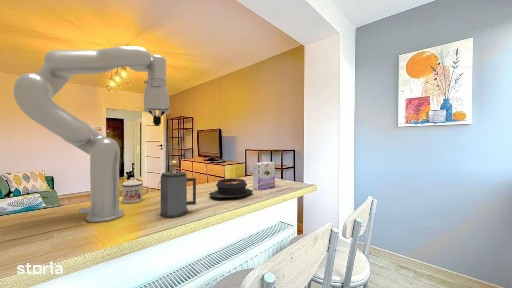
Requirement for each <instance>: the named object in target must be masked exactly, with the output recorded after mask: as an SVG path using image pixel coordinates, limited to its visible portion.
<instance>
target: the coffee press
mask: <svg viewBox="0 0 512 288" xmlns="http://www.w3.org/2000/svg"><path fill="white" fill-rule="evenodd" d="M160 181H161V183H160V212H159V213H160V214H159V216H160V217H162V218H164V219H175V218H180V217H183V216H185V215H188V213H189V211H188V206H192V205H193V206H195V205H196V204H197V178H196V177H188V174H187V172H186V171H180V170H179V171H176V173H175V174H173V171H165V172H162V173H161V176H160ZM188 182H192V200H189V201H188V197H187V195H188V194H187V193H188V191H187V190H188V189H187V188H188V185H187V184H188Z"/></svg>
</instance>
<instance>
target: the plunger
mask: <svg viewBox="0 0 512 288" xmlns="http://www.w3.org/2000/svg"><path fill="white" fill-rule="evenodd" d="M179 166H180V161H179V160H169V167H172V172H173V174H175V173H176V170H177V169H176V168H177V167H179Z"/></svg>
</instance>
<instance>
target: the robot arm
mask: <svg viewBox="0 0 512 288" xmlns="http://www.w3.org/2000/svg"><path fill="white" fill-rule="evenodd" d="M43 63H44V64H43V65H42V66H41V68H40V69H39V70H38V71H37V72H36V73H35V72H34V73H33V72H27V73H23V74H20V75H19V76H18V77H17V78H16V80H15V82H14V85H13V98H14V100H15V102H16V104H17V106H18V107H19V108H20V110H21V112H22V113H23V114H25V115H26V116H27V117H28V118H30V119H31V120H32V121H34V122H35V123H37V124H39V125H40V126H41V127H44V129H47V130H48V131H50V132H51V133H53V134H54V135H57V136H58V137H59V138H61V139H62V140H63V141H65V142H66V143H68V144H71V145H72V146H73V147H75V148H77V149H78V150H80V151H82V152H84V153H86V154H87V155H89V161H90V162H89V165H90V166H89V177H90V178H89V179H90V181H89V182H90V186H89V189H90V206H88V207H80V208H78V213H79V214H80V215H82V214H83V215H84V214H86V216H85V221H86V222H89V223H102V222H109V221H112V220H116V219H119V218H121V217H122V216H123V215H124V214H125V213H124V211H125V210H122V209H121V208H120V157H121V150H120V146H119V143H118V142H117V141H116V140H115V139H113V138H111V137H108V136H105V135H104V134H102V133H100V132H99V131H98V130H96V129H94V128H93V127H91V126H90V124H89V123H87V122H86V121H84V120H81V119H80V118H78V117H76V116H75V115H73V114H72V113H70V112H69V111H67V110H66V109H65V108H63V107H61V106H60V105H58V104H57V103H56V102H55V101H54V100H53V98H54V97H55V96H56V95H57V93H59V92H60V90H62V88H63V87H64V86H65V85H66V84H67V83H68V82H69V81H70V80H71V79H72V77H73V76H74V75H90V74H92V75H93V74H94V75H95V74H97V75H98V74H106V73H108V72H111V71H114V70H115V69H120V68H126V67H127V68H129V69H130V70H132V71H133V72H134V71H135V72H140V73H141V72H143V73H144V72H145V73H147V79H146V80H144V81H143V84H144V85H146V86H145V89H144V93H143V94H144V95H143V107H144V108H143V112H145V113H147V114H150V115H151V116H152V119H153V120H152V124H153V125H154V126H156V127H159V126H160V125H161V124H162V117H163V116H164V115H165V114H169V113H170V112H171V110H170V95H169V94H170V93H169V88H168V87H167V60H166V58H165V57H164V56H162V55H159V54H151V53H150V52H149V50H148V49H146V48H144V47H141V46H130V45H129V46H128V45H127V46H114V47H113V46H112V47H107V48H100V49H53V50H50V51H47V52H46V53H45V55H44V57H43ZM157 111H158V113H157Z"/></svg>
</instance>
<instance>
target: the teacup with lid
mask: <svg viewBox="0 0 512 288" xmlns="http://www.w3.org/2000/svg"><path fill="white" fill-rule="evenodd" d="M143 188H147V189H146V192H145V193H143ZM121 189H122V190H121V191H122V193H121V197H122V198H121V199H122V200H121V201H122V204H137V203H139V202H142V200H143V196H146V195H148V194H149V191H150V188H149V186H148V185H143V182H142V181H139V180H137V179H135V177H130V178H129V179H128V180H127V181H125V182H122V183H121Z"/></svg>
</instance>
